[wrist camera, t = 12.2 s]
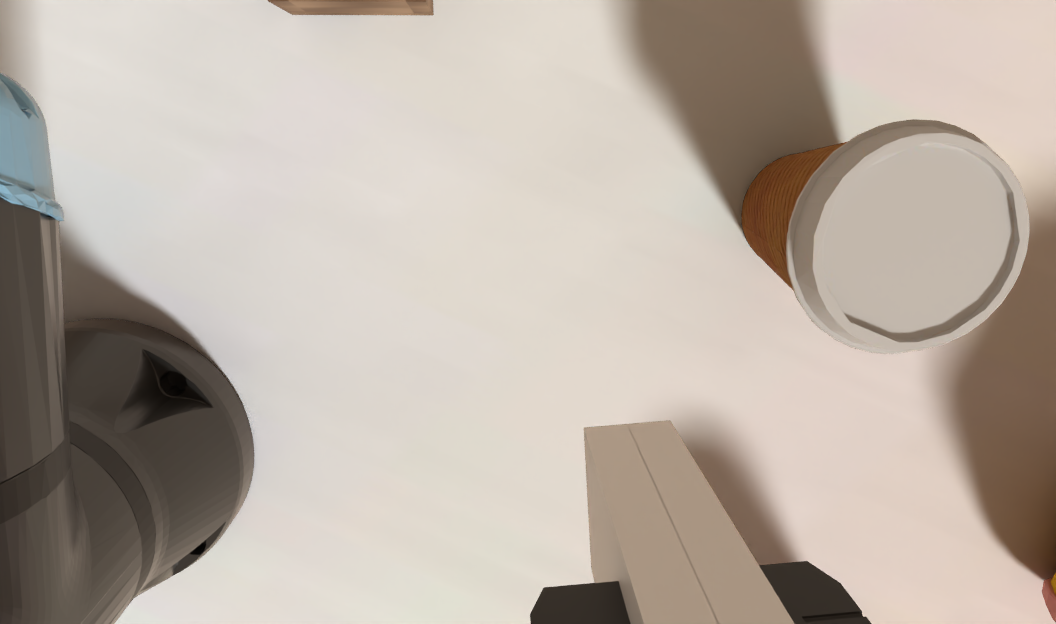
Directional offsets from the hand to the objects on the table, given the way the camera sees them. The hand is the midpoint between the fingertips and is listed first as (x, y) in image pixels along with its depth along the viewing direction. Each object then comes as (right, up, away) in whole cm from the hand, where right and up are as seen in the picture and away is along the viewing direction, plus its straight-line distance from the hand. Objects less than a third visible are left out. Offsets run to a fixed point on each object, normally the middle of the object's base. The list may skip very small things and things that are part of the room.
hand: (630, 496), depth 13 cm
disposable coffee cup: (+13, +9, +27) cm, 32 cm away
